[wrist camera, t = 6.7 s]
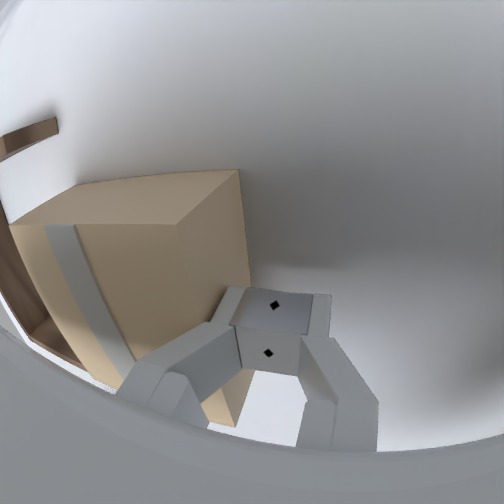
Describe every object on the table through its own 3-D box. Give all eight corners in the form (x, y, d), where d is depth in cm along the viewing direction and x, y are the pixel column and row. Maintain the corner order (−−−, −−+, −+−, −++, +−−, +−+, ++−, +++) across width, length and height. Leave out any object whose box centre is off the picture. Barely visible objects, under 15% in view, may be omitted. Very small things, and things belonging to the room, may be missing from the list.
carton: (242, 165, 9) (173, 226, 5) (261, 349, 14) (234, 429, 10) (81, 181, 11) (6, 226, 7) (133, 324, 16) (92, 380, 12)
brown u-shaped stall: (55, 117, 9) (3, 135, 7) (138, 350, 17) (115, 384, 14) (-15, 159, 12) (-45, 176, 10) (49, 318, 19) (30, 340, 17)
